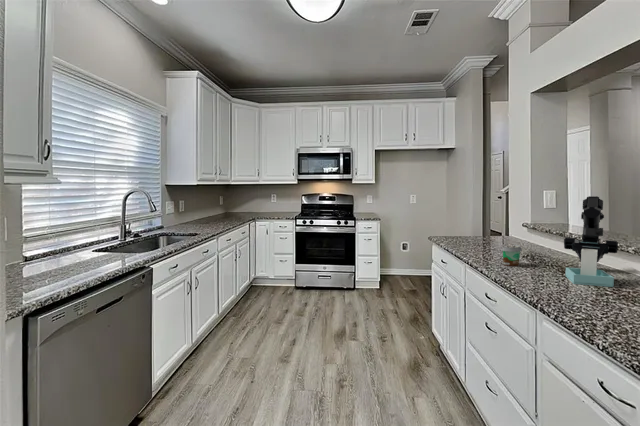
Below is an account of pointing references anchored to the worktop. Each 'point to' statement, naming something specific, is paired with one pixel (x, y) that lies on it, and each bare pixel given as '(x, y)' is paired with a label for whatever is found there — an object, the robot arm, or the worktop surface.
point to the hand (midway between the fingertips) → (588, 260)
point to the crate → (589, 278)
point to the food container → (511, 255)
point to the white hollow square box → (588, 262)
